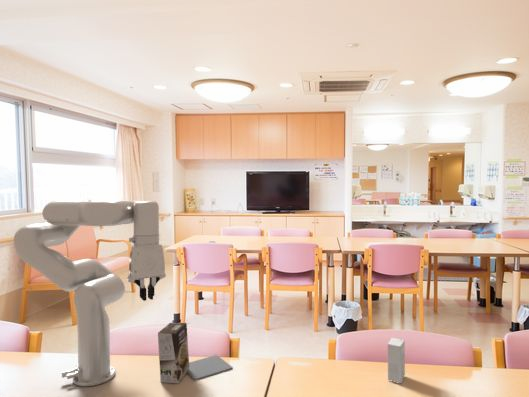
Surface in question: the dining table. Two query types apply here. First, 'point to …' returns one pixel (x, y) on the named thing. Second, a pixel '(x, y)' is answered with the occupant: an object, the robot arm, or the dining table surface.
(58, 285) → the robot arm
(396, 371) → the skincare box
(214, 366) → the mat
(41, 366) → the dining table surface
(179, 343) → the coffee box
